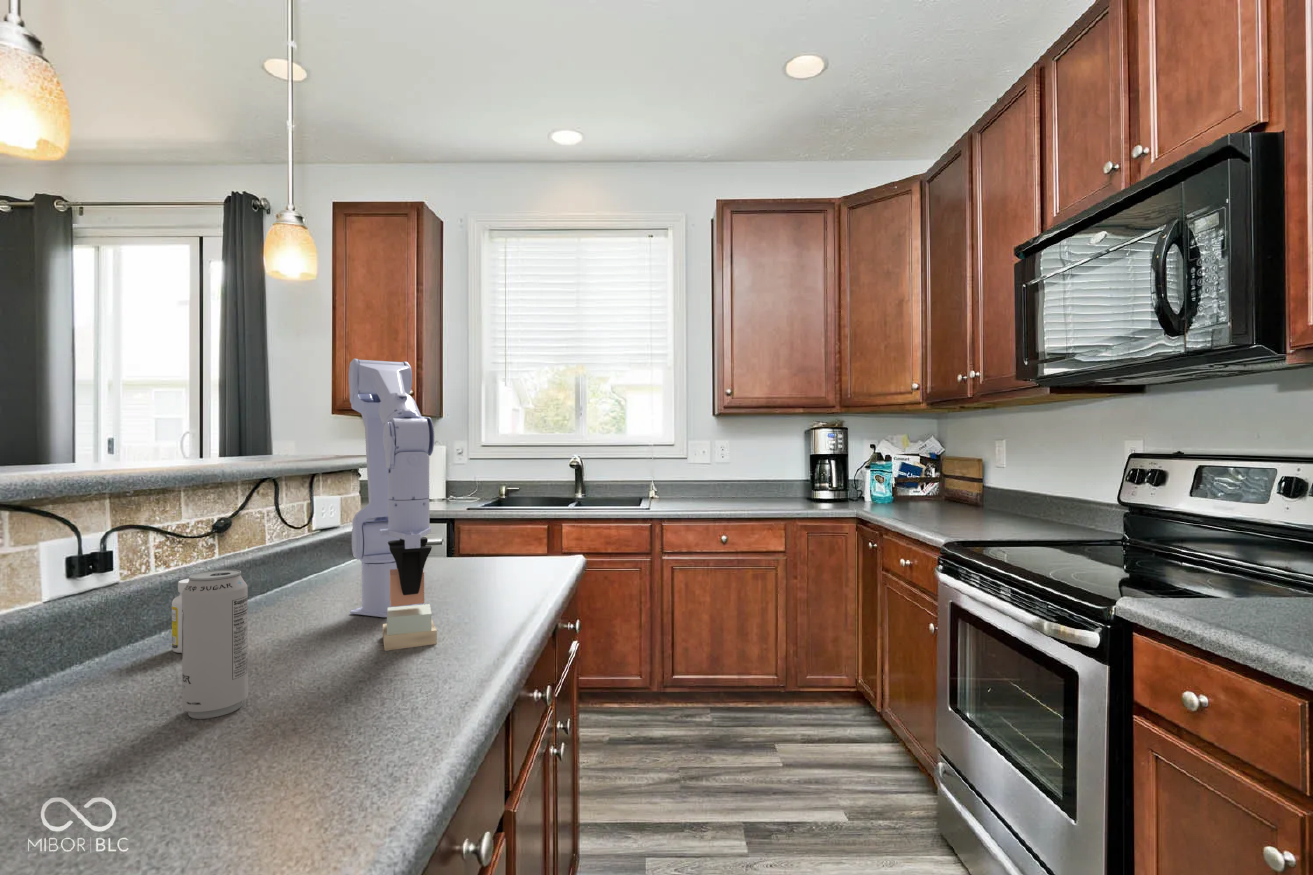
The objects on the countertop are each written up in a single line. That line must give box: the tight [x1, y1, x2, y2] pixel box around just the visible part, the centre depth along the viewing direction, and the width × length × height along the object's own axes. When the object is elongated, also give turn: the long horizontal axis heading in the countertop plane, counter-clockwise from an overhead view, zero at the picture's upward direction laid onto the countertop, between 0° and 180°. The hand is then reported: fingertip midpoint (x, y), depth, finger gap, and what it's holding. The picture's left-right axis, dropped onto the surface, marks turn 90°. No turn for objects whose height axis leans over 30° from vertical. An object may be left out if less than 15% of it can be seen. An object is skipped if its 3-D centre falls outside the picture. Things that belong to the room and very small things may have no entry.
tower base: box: [382, 620, 438, 652], centre depth 96 cm, size 7×7×2 cm
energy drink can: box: [181, 569, 249, 720], centre depth 72 cm, size 6×6×15 cm
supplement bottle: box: [171, 578, 189, 654], centre depth 93 cm, size 5×5×10 cm
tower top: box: [386, 603, 433, 635], centre depth 96 cm, size 6×6×2 cm
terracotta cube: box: [390, 569, 425, 607], centre depth 96 cm, size 4×4×4 cm
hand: (409, 590), depth 96 cm, fingers closed on terracotta cube, 4 cm apart
